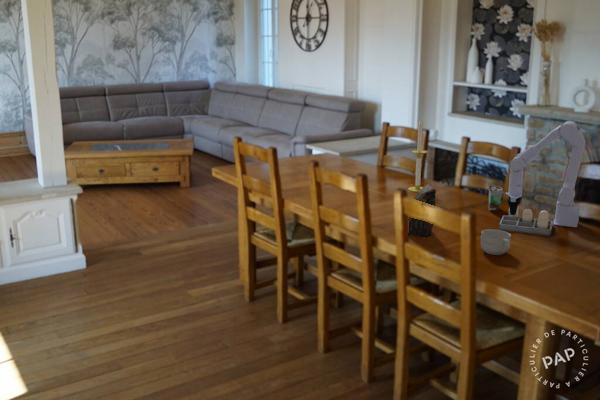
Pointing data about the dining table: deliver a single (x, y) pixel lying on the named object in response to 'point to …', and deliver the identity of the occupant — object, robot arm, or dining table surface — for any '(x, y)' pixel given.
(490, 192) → the food container
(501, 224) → the carton
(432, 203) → the owl
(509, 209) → the white egg-shaped capsule
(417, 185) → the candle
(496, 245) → the teacup
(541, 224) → the seated eggs
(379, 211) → the dining table surface
